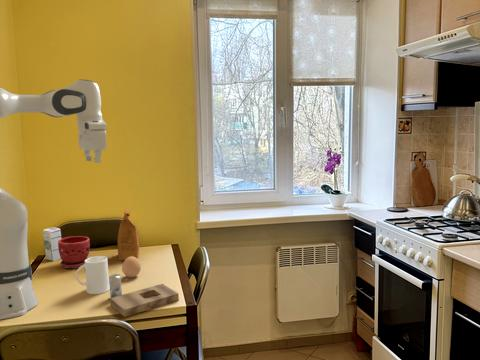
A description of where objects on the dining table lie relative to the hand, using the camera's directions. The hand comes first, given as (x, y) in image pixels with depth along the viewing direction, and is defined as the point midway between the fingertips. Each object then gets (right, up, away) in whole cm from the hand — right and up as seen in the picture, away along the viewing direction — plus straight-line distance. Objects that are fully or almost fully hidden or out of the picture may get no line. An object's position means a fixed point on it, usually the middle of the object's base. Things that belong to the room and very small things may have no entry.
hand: (93, 162), depth 162 cm
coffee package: (+3, -43, +41) cm, 59 cm away
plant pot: (-18, -45, +31) cm, 57 cm away
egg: (+11, -46, +14) cm, 50 cm away
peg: (+10, -49, -6) cm, 51 cm away
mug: (0, -49, +1) cm, 49 cm away
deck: (+22, -50, -11) cm, 55 cm away
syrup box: (-32, -44, +40) cm, 68 cm away
